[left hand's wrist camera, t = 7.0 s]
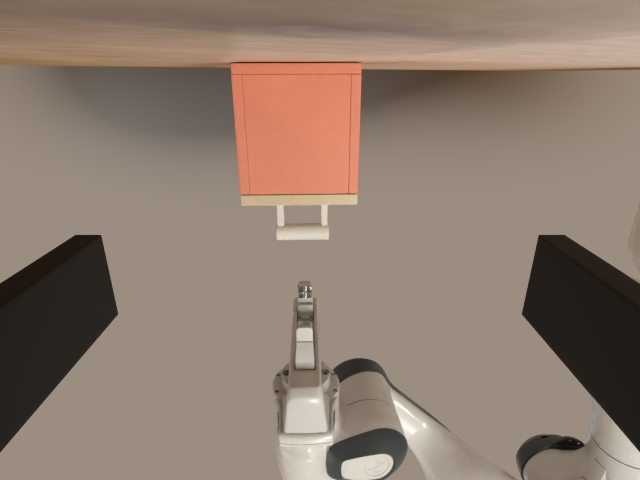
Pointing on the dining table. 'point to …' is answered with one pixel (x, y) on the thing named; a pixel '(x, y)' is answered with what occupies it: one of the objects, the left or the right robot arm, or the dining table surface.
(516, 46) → the dining table surface
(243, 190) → the chest
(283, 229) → the lid
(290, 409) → the right robot arm
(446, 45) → the dining table surface
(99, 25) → the dining table surface
